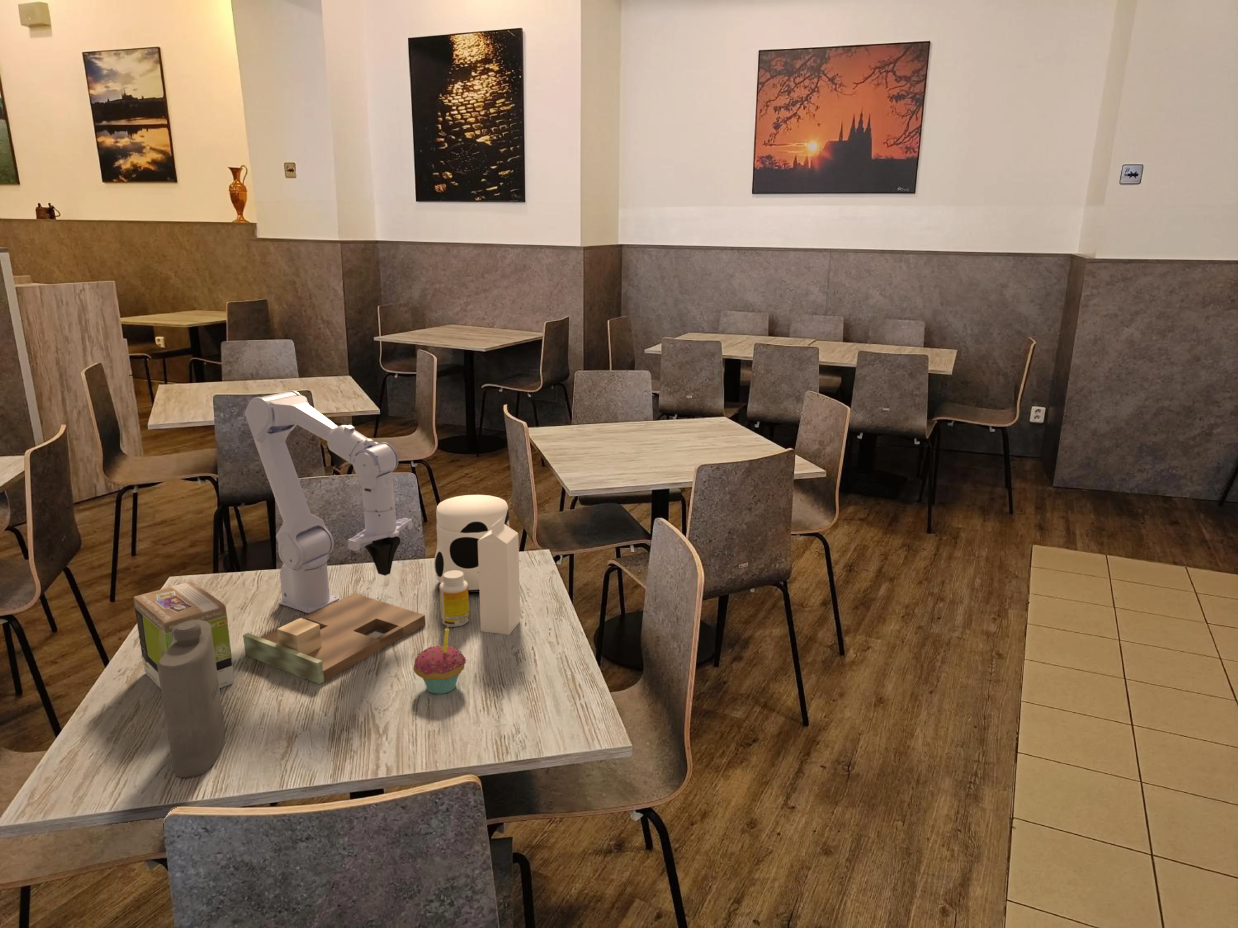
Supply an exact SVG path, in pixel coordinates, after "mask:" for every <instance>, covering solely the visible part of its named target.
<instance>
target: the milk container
mask: <svg viewBox="0 0 1238 928" xmlns="http://www.w3.org/2000/svg"><path fill="white" fill-rule="evenodd" d="M435 513H436V514H435V519H436V539H437V546H436V550H435V551H436V552H435V555H434V563H433V564H434V566H433V567H434V572H435V576H436V579H437V581H438V582H439V584H441V583H442V582H443V574H444V573H445V572H448V571H452V570H458V571H461V572H463V574H464V580H465V581H466V582H467V583H468V593H475V592H476V593H477V592H478V593H480V592H479V565H478V540H479V539H480V538H482V537H483V536H484V535H485V534H486V533H487V532H489V531H490V530H492V529H491V528H492V525H494V524H495V523H496V522H497V521H498V520H499V519H501V518H502V517H504V524H505V525H507V526H508V527H510V521H509V518H510V516H509V515H510V512H509V506H508V503H507V501H506V500H505V499H503V498H501V497H497V496H493V495H489V494H487V495H486V494H467V495H466V494H464V495H458V496H454V497H449V498H446V499H445V500H443V501H441V502H439V503H438V505H437V506H436V512H435Z"/></svg>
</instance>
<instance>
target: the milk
mask: <svg viewBox="0 0 1238 928" xmlns="http://www.w3.org/2000/svg"><path fill="white" fill-rule="evenodd" d="M491 529H492V530H490V531H489V532H487V533H486V534H485V535H484V536H483V537H482V538H480V539H479V540H478V565H479V592H478V593H479V613H480V631H481V632H486V633H493V634H498V635H499V634H500V635H506V636H509V635H511V634H512V632H513V631H514V629H515V628H516V627H517V626H518V625H519V623H520V622H521V601H520V600H521V598H520V593H521V592H520V560H519V559H520V557H519V556H520V554H519V553H520V552H519V550H520V548H519V545H520V544H519V533H518V532H517V531H516V530H514V529H513V528H512V527H510V526H509V527H508V526H507V525H505V524H504V517H502V518H501V519H499V520H498V521H497V522H496V523H495V524H494V525H492V528H491Z"/></svg>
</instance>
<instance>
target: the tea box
mask: <svg viewBox="0 0 1238 928" xmlns="http://www.w3.org/2000/svg"><path fill="white" fill-rule="evenodd" d="M133 603H134V605H133V606H134V611H135V617H136V624H137V631H138V637H139V645H140V650H141V651H140V652H141V657H142V658H141V659H142V664H143V671H144V673H145V674H146V675H147V676H148V677H149V679H151V680H152V682H154V683H155V685H157V687H158V688H159V689H161V687H160V681H159V675H158V668H157V663H158V661H159V660H160V659H161V658H162V657H163V655H164V654H165V653H166V652H167V650H168V649H169V647H170V645H171V642H172V629H173V628H174V627H175V626H177V625H178V624H180V623H183V622H186V621H191V620H203V621H206V622H208V623H209V624H210V625H211V631H212V638H213V646H214V653H215V660H216V668H217V675H218V682H219V689H222V688H224V687H228V686H230V685H231V684H234V683H235V677H234V676H235V673H234V667H233V665H234V664H233V657H232V656H233V655H232V648H231V642H230V641H231V640H230V631H229V625H228V614H227V607H226V605H225V604H224V603H223V602H222V601H221V600H219V598H216V597H215V596H214V595H212V594H211V593H210V592H208V591H207V590H205V589H203V588H202V587H201V586H200V585H198V584H196V582H194V581H187V582H184V583H180V584H176V585H172V586H169V587H165V588H162V589H157V590H153V591H150V592H146V593H142V594H139V595H135V596H133Z"/></svg>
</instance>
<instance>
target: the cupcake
mask: <svg viewBox="0 0 1238 928" xmlns="http://www.w3.org/2000/svg"><path fill="white" fill-rule="evenodd" d="M449 627H450V626H449V625H448V626H446V628H445V629H444V634H443V635H444V637H443V645H442V644H440V645H436V646H434V645H433V646H430V647H427V648H426V649H424V650H422V651H421V652H419V653H418V654H417V656H416V657H415V658H414V663H413V672H414V673H415V674H416V675H417V676H418V677H419V678H421V679H422V680H423V681H424V684H425V687H426V689H427V690H428V692H430V693H432V694H435V695H440V694H441V695H442V694H446V693H449V692H451V691H453V690H454V689H455V687H456V685H457V681H458V678H459V676H460V675H461V673H462V671H464V670H465V664H466V662H467V659H466V657H465V656H464V654H463V653H462V651H460V649H458V648H457V647H455V646H451V645H448V643H449V634H450V629H449Z"/></svg>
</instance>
